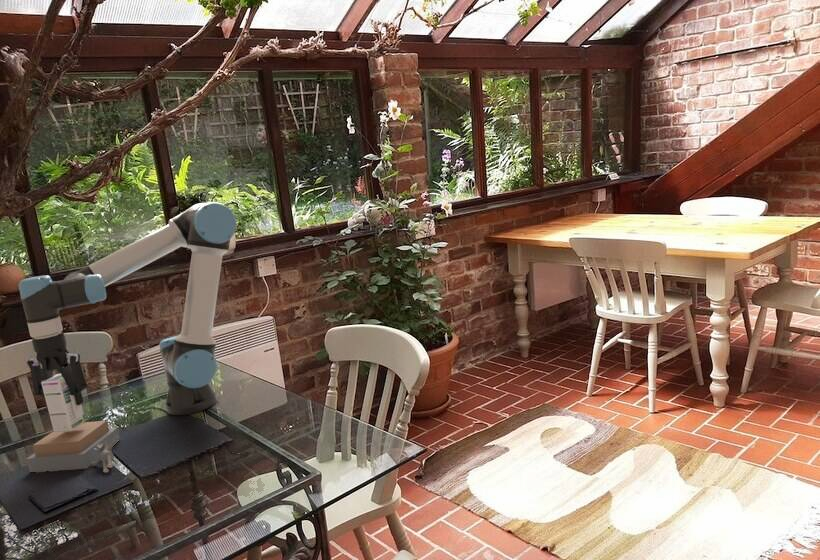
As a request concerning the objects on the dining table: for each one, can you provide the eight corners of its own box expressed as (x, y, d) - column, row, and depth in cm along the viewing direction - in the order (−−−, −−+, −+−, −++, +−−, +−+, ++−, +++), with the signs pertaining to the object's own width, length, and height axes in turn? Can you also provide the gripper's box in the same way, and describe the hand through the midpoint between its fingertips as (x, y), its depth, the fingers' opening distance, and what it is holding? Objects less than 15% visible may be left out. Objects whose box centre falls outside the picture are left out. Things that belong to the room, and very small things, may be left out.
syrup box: (71, 431, 165) (59, 379, 163) (52, 432, 167) (40, 380, 164) (86, 422, 171) (75, 372, 168) (68, 423, 172) (56, 373, 170)
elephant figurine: (84, 480, 156) (81, 456, 162) (105, 487, 159) (101, 463, 166) (111, 450, 156) (107, 428, 162) (132, 458, 159) (127, 436, 166)
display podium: (120, 440, 177) (115, 417, 176) (86, 468, 162) (80, 443, 160) (68, 445, 179) (62, 422, 178) (29, 472, 163) (23, 448, 162)
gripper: (89, 327, 167) (108, 408, 171) (24, 334, 169) (44, 414, 173) (72, 335, 159) (92, 420, 164) (3, 342, 161) (25, 426, 166)
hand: (67, 417), depth 168 cm, fingers closed on syrup box, 6 cm apart
